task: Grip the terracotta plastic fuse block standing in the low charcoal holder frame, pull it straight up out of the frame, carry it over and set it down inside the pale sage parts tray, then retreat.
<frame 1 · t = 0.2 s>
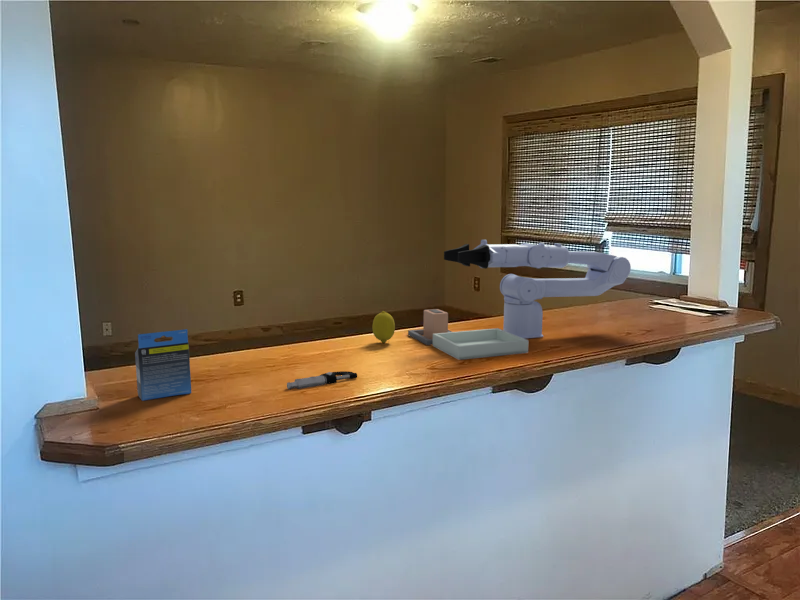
hand: (451, 256, 161), 21 cm above the worktop, tool horizontal, fingers open, 7 cm apart
parts tray: (479, 349, 158), on the worktop
holder frame: (435, 338, 169), on the worktop
lemon: (383, 343, 163), on the worktop
label tape cartridge: (164, 395, 122), on the worktop
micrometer: (319, 383, 132), on the worktop
fuse block: (435, 324, 168), in the holder frame
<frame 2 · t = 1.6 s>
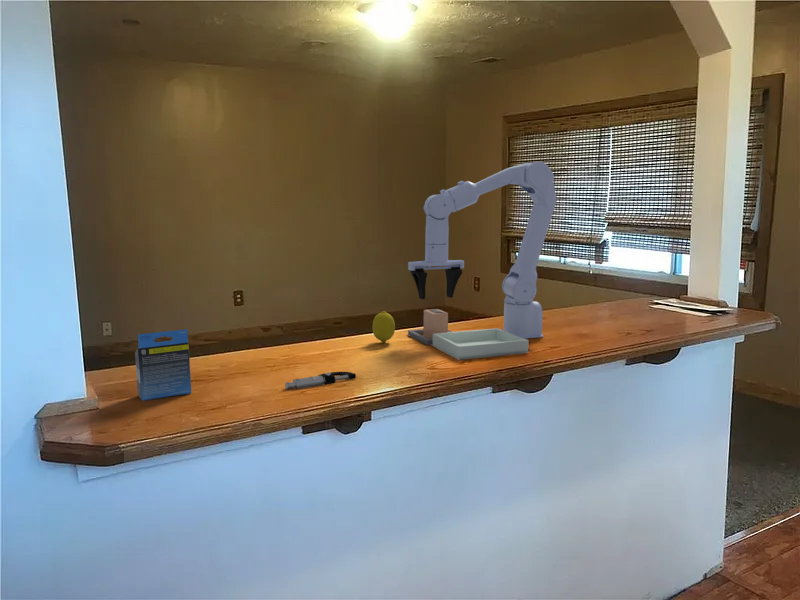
hand: (436, 297, 167), 10 cm above the worktop, tool pointing down, fingers open, 7 cm apart
nothing on the worktop moved.
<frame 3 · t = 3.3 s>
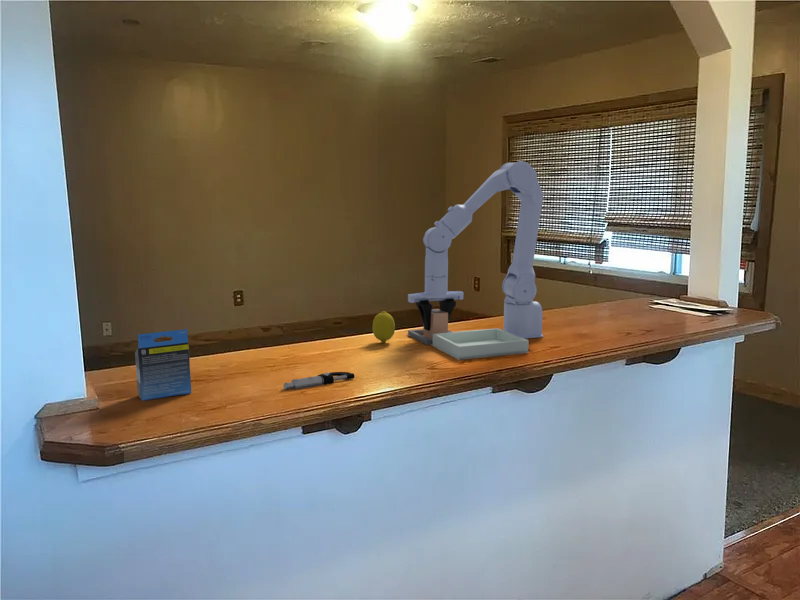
hand: (435, 329, 168), 2 cm above the worktop, tool pointing down, fingers closed on fuse block, 4 cm apart
fuse block: (435, 324, 168), in the holder frame, touching gripper
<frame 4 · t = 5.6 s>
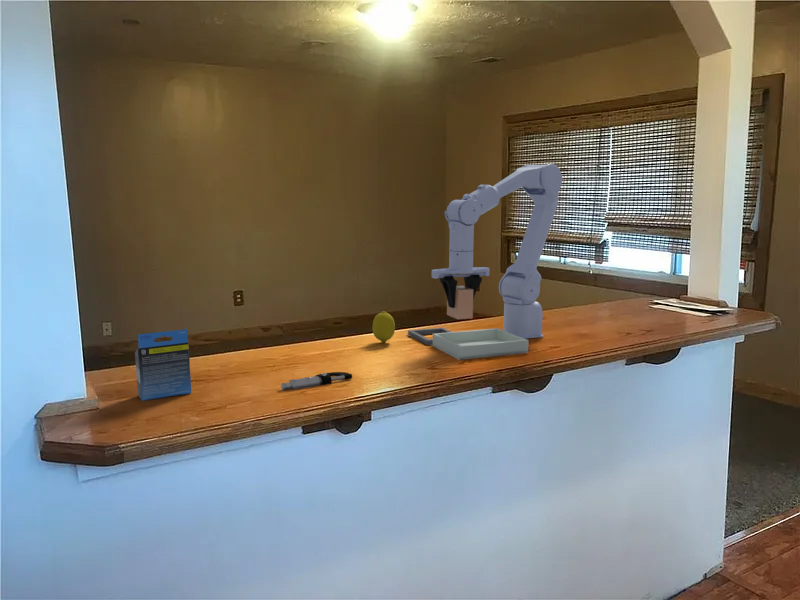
hand: (460, 306, 161), 9 cm above the worktop, tool pointing down, fingers closed on fuse block, 4 cm apart
fuse block: (459, 302, 161), point 10 cm above the worktop, touching gripper
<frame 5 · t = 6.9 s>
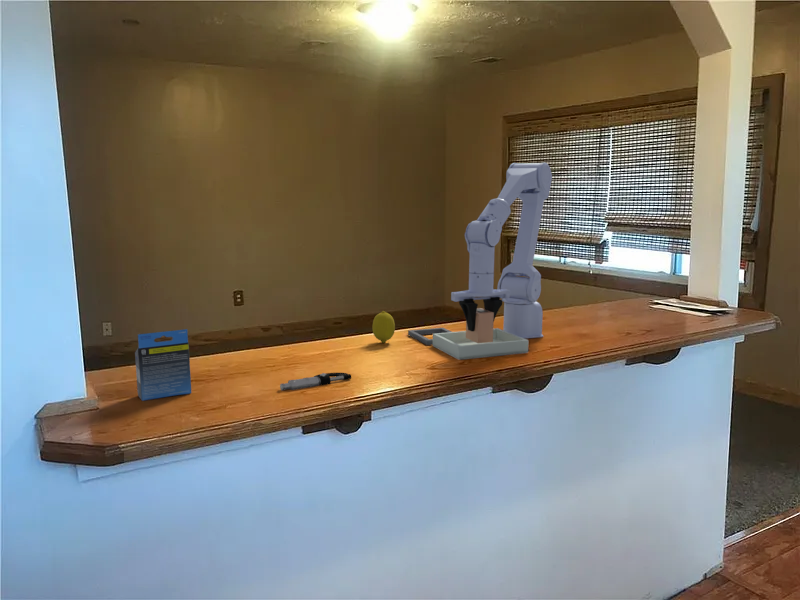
hand: (479, 329, 157), 5 cm above the worktop, tool pointing down, fingers closed on fuse block, 4 cm apart
fuse block: (479, 325, 157), point 6 cm above the worktop, touching gripper
when the fingers open (4 cm above the worktop, at t = 7.8 s): fuse block drops 1 cm, resting on parts tray.
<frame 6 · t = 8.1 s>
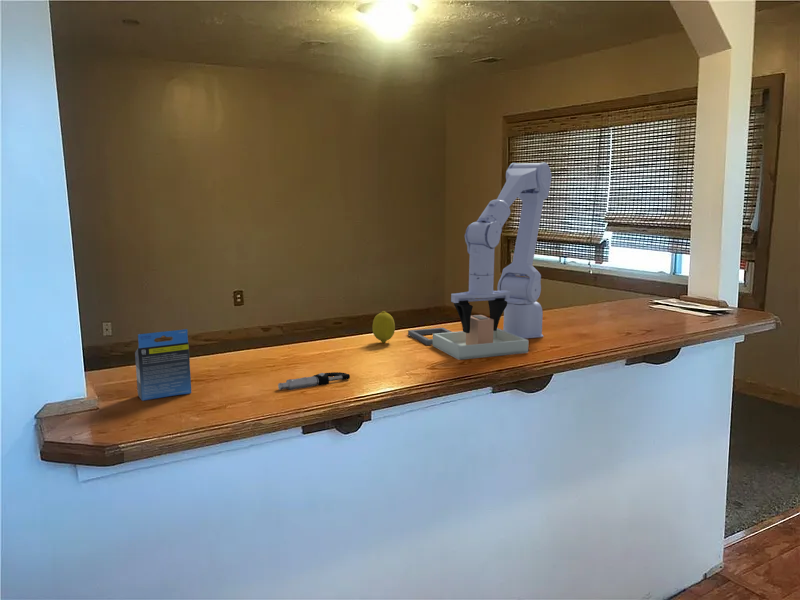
hand: (479, 331, 157), 4 cm above the worktop, tool pointing down, fingers open, 7 cm apart
fuse block: (479, 331, 157), in the parts tray, point 4 cm above the worktop
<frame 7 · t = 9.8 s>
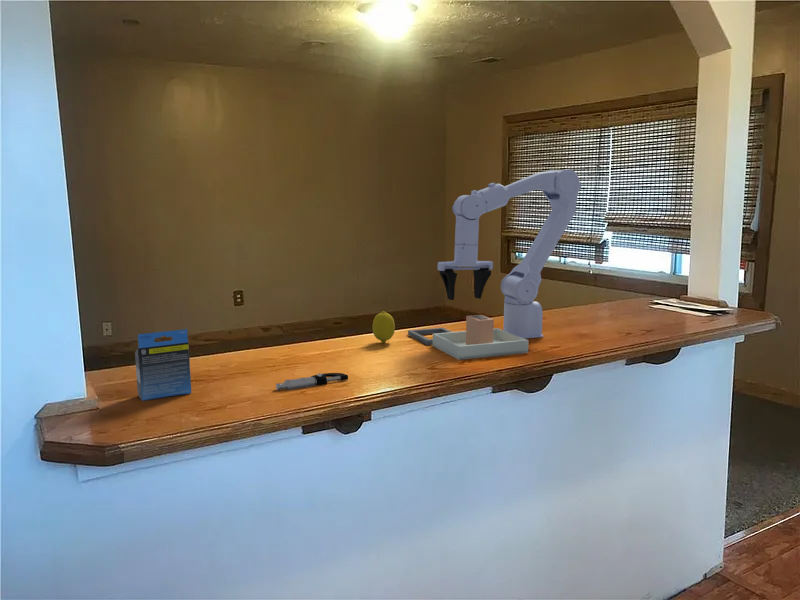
hand: (464, 298, 166), 10 cm above the worktop, tool pointing down, fingers open, 7 cm apart
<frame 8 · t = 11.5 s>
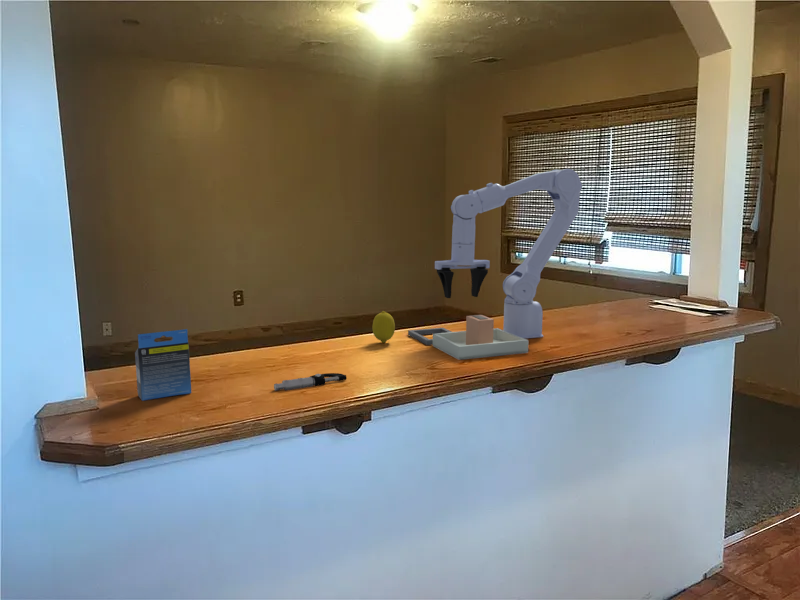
hand: (461, 297, 168), 10 cm above the worktop, tool pointing down, fingers open, 7 cm apart
at the end: fuse block inside the target area on the parts tray (0.2 cm from its centre), point 4.2 cm above the parts tray's base; the gripper is holding nothing; fuse block moved 14.7 cm from its start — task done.
